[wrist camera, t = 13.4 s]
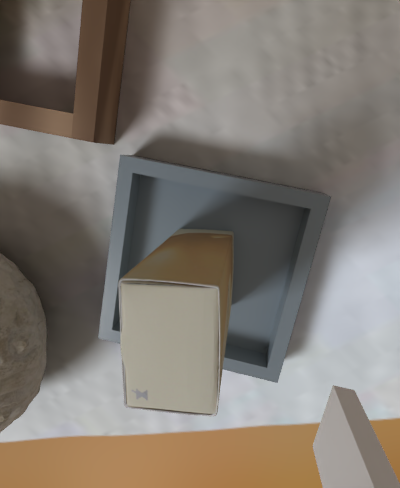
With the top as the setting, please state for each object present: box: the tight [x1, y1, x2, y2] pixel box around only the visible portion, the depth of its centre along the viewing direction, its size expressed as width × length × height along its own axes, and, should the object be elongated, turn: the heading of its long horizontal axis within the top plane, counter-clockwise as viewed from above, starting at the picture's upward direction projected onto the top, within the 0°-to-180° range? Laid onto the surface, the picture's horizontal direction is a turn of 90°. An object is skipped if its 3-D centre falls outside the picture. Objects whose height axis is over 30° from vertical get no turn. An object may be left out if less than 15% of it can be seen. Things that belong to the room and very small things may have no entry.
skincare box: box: [118, 229, 234, 416], centre depth 20 cm, size 6×4×12 cm
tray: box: [98, 155, 331, 383], centre depth 25 cm, size 14×14×2 cm
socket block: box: [0, 0, 131, 144], centre depth 23 cm, size 11×11×4 cm
